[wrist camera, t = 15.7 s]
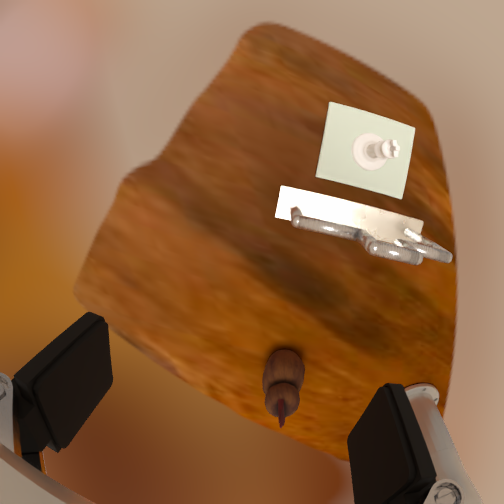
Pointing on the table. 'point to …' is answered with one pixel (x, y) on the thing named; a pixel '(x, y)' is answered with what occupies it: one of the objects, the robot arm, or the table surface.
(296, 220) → the silver metal frame stand
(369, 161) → the chess piece
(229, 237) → the table surface
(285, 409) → the wooden figurine
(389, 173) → the pad
